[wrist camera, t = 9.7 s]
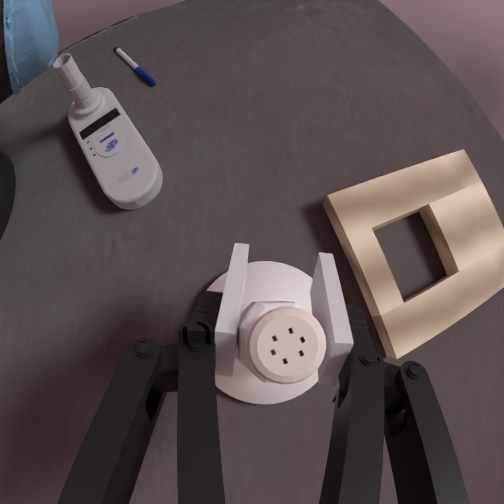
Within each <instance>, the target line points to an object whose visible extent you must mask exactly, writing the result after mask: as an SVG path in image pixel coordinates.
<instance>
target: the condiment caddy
mask: <svg viewBox="0 0 504 504" xmlns="http://www.w3.org/2000/svg"><path fill="white" fill-rule="evenodd" d="M322 205H323V207H324V209H325V211H326V213H327V216H328V218H329V220H330V222H331V224H332V226H333V228H334V230H335V233H336V235H337V237H338V239H339V241H340V244H341V246H342V248H343V250H344V252H345V255H346V257H347V259H348V261H349V264H350V266H351V268H352V271H353V273H354V275H355V278H356V280H357V282H358V285H359V287H360V290H361V292H362V294H363V297H364V299H365V302H366V304H367V307H368V309H369V312H370V314H371V317H372V319H373V322H374V324H375V327H376V329H377V332H378V335H379V337H380V340H381V342H382V345H383V348H384V350H385V353H386V356H387V357H389V358H395V359H398V358H399V357H401V356H403V355H405V354H406V353H408V352H410V351H411V350H413V349H415V348H416V347H418V346H420V345H421V344H423V343H425V342H426V341H428V340H429V339H431V338H433V337H434V336H436V335H437V334H439V333H440V332H442V331H443V330H445V329H447V328H448V327H450V326H451V325H453V324H454V323H455V322H457V321H458V320H460V319H461V318H463V317H464V316H466V315H467V314H468V313H470V312H471V311H473V310H474V309H475V308H477V307H478V306H479V305H481V304H482V303H484V302H485V301H486V300H488V299H489V298H490V297H491V296H493V295H494V294H495V293H497V292H498V291H499V290H500V289H502V288H503V287H504V228H503V226H502V224H501V221H500V219H499V217H498V215H497V212H496V210H495V208H494V206H493V204H492V202H491V199H490V197H489V195H488V193H487V191H486V189H485V187H484V185H483V183H482V181H481V180H480V178H479V176H478V174H477V172H476V170H475V168H474V167H473V165H472V163H471V161H470V159H469V158H468V156H467V154H466V152H465V151H464V149H463V150H460V151H457V152H454V153H451V154H447V155H444V156H441V157H438V158H435V159H432V160H429V161H426V162H423V163H420V164H417V165H414V166H411V167H408V168H405V169H402V170H399V171H396V172H393V173H390V174H387V175H384V176H381V177H378V178H375V179H372V180H369V181H366V182H364V183H361V184H358V185H355V186H352V187H349V188H346V189H343V190H341V191H338V192H335V193H332V194H329V195H327V197H326V198H325V200H324V202H323V204H322ZM416 212H419V213H420V215H421V217H422V219H423V221H424V223H425V225H426V227H427V229H428V232H429V234H430V236H431V238H432V240H433V243H434V245H435V247H436V250H437V252H438V254H439V257H440V259H441V261H442V264H443V266H444V269H445V271H446V274H447V276H445V277H443V278H442V279H440V280H438V281H436V282H435V283H433V284H431V285H430V286H428V287H426V288H424V289H422V290H421V291H419V292H417V293H415V294H413V295H412V296H410V297H408V298H406V299H404V300H403V299H402V297H401V294H400V292H399V290H398V287H397V285H396V282H395V280H394V277H393V275H392V273H391V270H390V268H389V266H388V263H387V261H386V259H385V256H384V254H383V252H382V250H381V247H380V245H379V243H378V241H377V239H376V237H375V234H374V232H373V231H374V230H376V229H379V228H381V227H383V226H386V225H388V224H391V223H393V222H395V221H398V220H400V219H402V218H405V217H407V216H409V215H412V214H414V213H416Z"/></svg>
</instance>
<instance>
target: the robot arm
mask: <svg viewBox="0 0 504 504" xmlns="http://www.w3.org/2000/svg"><path fill="white" fill-rule="evenodd" d="M58 50H59V38H58V32H57V27H56V23H55V18H54V14H53V9H52V5H51V1H50V0H0V104H1V103H2V102H3V101H5V100H6V99H7V98H9V97H10V96H11V95H13V94H14V95H17V94H18V93H19V92H20V91H21V88H22V87H24V86H25V85H26V84H28V83H29V82H30V81H32V80H33V79H34V78H36V77H37V76H39V75H40V74H41V73H43V72H44V71H46V70H47V69H48V68H49V67H50V66H51V65H52V64H53V62H54V61H55V59H56V57H57V54H58ZM14 196H15V171H14V167H13V164H12V162H11V160H10V159H9V158H8V156H6V155H5V154H4V153H3V152H2V151H0V239H1V237H2V235H3V233H4V230H5V228H6V226H7V223H8V220H9V217H10V214H11V210H12V206H13V202H14ZM248 251H249V244H240V243H235V245H234V249H233V253H232V258H231V262H230V266H229V271H228V275H227V280H226V284H225V288H224V293H223V292H215V291H207V290H205V291H204V292H202V293H201V294H200V295H199V296H198V299H197V302H196V306H195V309H194V312H193V315H192V318H191V320H188V321H185V322H184V323H183V324H182V325H181V326H180V327H179V330H178V332H179V343H176V344H174V345H168V346H159V345H158V344H157V343H156V342H155V341H153V340H151V339H139V340H136V341H135V342H133V343H132V344H131V345H130V346H129V348H128V350H127V351H126V353H125V355H124V357H123V359H122V361H121V363H120V365H119V367H118V369H117V371H116V373H115V375H114V377H113V379H112V381H111V383H110V385H109V387H108V389H107V392H106V394H105V396H104V398H103V400H102V402H101V404H100V406H99V408H98V410H97V412H96V415H95V417H94V419H93V421H92V423H91V425H90V428H89V430H88V432H87V434H86V436H85V439H84V441H83V443H82V445H81V448H80V450H79V452H78V454H77V457H76V459H75V461H74V464H73V466H72V468H71V471H70V473H69V476H68V478H67V480H66V483H65V485H64V488H63V490H62V493H61V495H60V498H59V500H58V503H57V504H129V502H130V499H131V495H132V492H133V489H134V486H135V483H136V480H137V477H138V474H139V471H140V468H141V465H142V462H143V459H144V456H145V453H146V450H147V447H148V444H149V441H150V438H151V435H152V433H153V430H154V427H155V424H156V421H157V418H158V415H159V412H160V410H161V407H162V404H163V401H164V398H165V396H166V393H167V392H174V391H178V412H177V473H178V504H225V496H224V486H223V476H222V465H221V453H220V441H219V429H218V415H217V400H216V385H215V375H222V376H230V377H232V374H233V368H234V361H235V354H236V347H237V338H238V326H239V323H240V319H241V312H242V305H243V298H244V291H245V283H246V273H247V262H248ZM310 298H311V307H312V315H313V316H314V317H315V318H316V319H317V320H318V322H319V323H320V325H321V326H322V328H323V331H324V334H325V337H326V351H325V355H324V359H323V361H322V363H321V365H320V366H319V368H318V381H319V384H332V385H335V384H336V382H337V380H338V378H339V383H340V386H339V388H338V390H337V392H336V394H335V396H334V398H333V401H332V402H335V400H336V402H335V410H334V418H333V425H332V432H331V439H330V446H329V452H328V458H327V464H326V470H325V475H324V481H323V486H322V491H321V496H320V501H319V504H379V498H380V488H381V476H382V461H383V441H384V435H385V439H386V444H387V448H388V453H389V457H390V462H391V467H392V472H393V477H394V482H395V488H396V493H397V499H398V504H469V501H468V497H467V493H466V489H465V485H464V481H463V477H462V474H461V470H460V467H459V463H458V460H457V457H456V453H455V450H454V447H453V444H452V441H451V437H450V434H449V431H448V428H447V425H446V422H445V420H444V417H443V414H442V411H441V408H440V405H439V403H438V400H437V397H436V395H435V392H434V389H433V387H432V384H431V382H430V379H429V376H428V374H427V371H426V370H425V368H424V367H423V366H422V365H421V364H419V363H417V362H415V361H407V362H404V363H403V364H402V365H401V367H399V366H396V365H392V364H389V363H386V362H384V361H383V359H382V357H381V355H380V354H379V353H378V352H376V351H375V350H374V347H373V343H372V339H371V335H370V332H369V328H368V324H367V322H366V317H365V314H364V312H363V310H362V309H361V308H360V307H359V305H350V304H345V302H344V298H343V293H342V289H341V285H340V281H339V277H338V273H337V269H336V265H335V261H334V258H333V254H330V253H321V252H319V255H318V259H317V263H316V268H315V272H314V276H313V281H312V285H311V289H310Z"/></svg>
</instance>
